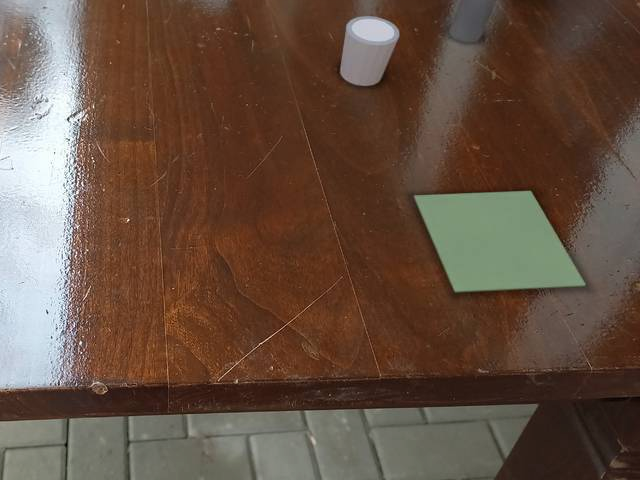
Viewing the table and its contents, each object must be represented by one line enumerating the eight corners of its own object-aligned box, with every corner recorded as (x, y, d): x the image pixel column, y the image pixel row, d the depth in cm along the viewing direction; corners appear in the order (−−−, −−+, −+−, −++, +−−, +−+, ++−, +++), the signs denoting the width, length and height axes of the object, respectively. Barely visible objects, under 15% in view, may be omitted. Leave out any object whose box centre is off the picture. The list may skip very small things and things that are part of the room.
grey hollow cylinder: (450, 42, 101) (476, -26, 93) (446, 25, 104) (471, -42, 96) (482, 45, 100) (511, -23, 92) (477, 28, 103) (505, -39, 95)
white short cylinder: (340, 90, 93) (352, 44, 88) (330, 60, 97) (341, 15, 92) (390, 90, 93) (405, 44, 88) (378, 60, 98) (392, 15, 92)
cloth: (529, 193, 81) (531, 190, 81) (583, 287, 72) (586, 285, 72) (412, 198, 80) (414, 195, 80) (453, 294, 71) (455, 291, 71)
